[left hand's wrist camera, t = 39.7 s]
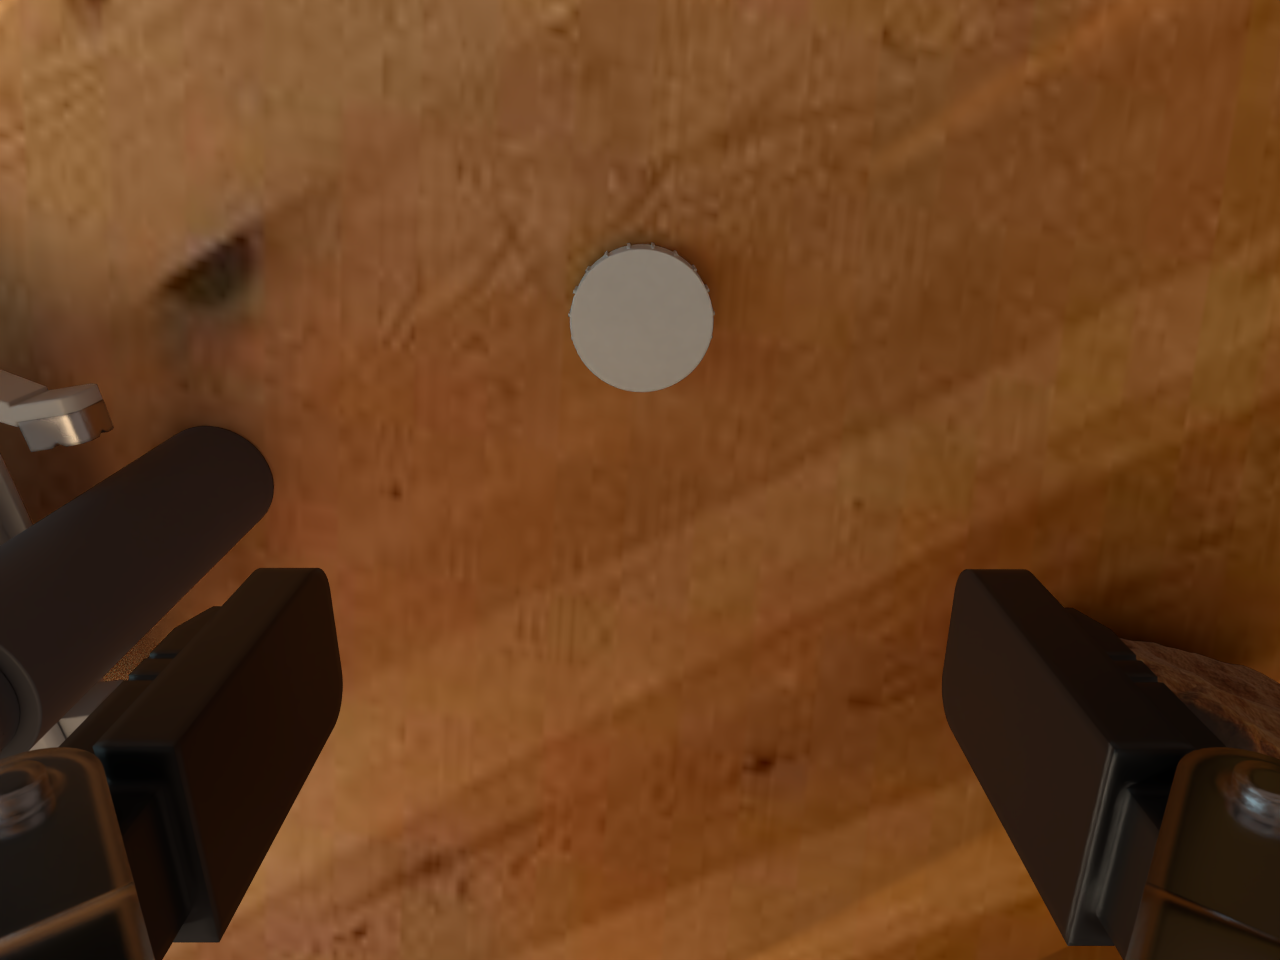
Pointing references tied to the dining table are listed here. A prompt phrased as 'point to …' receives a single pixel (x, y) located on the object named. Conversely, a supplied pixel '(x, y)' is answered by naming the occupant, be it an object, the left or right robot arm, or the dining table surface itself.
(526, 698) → the dining table surface
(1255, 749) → the decorative rock
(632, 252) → the lid
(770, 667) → the dining table surface
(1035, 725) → the left robot arm
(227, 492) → the dark brown cylinder
